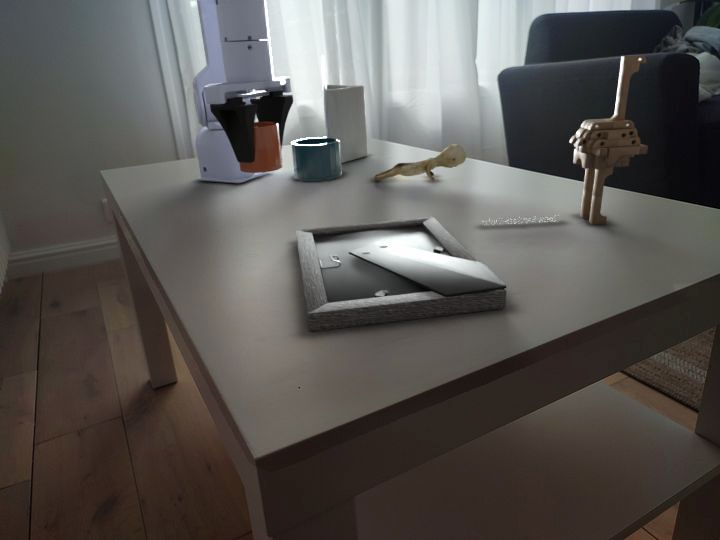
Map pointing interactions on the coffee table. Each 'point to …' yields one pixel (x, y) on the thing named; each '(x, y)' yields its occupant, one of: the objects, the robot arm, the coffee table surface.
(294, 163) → the base cup
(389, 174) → the figurine
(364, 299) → the picture frame
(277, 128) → the cup
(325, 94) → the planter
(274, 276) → the coffee table surface
